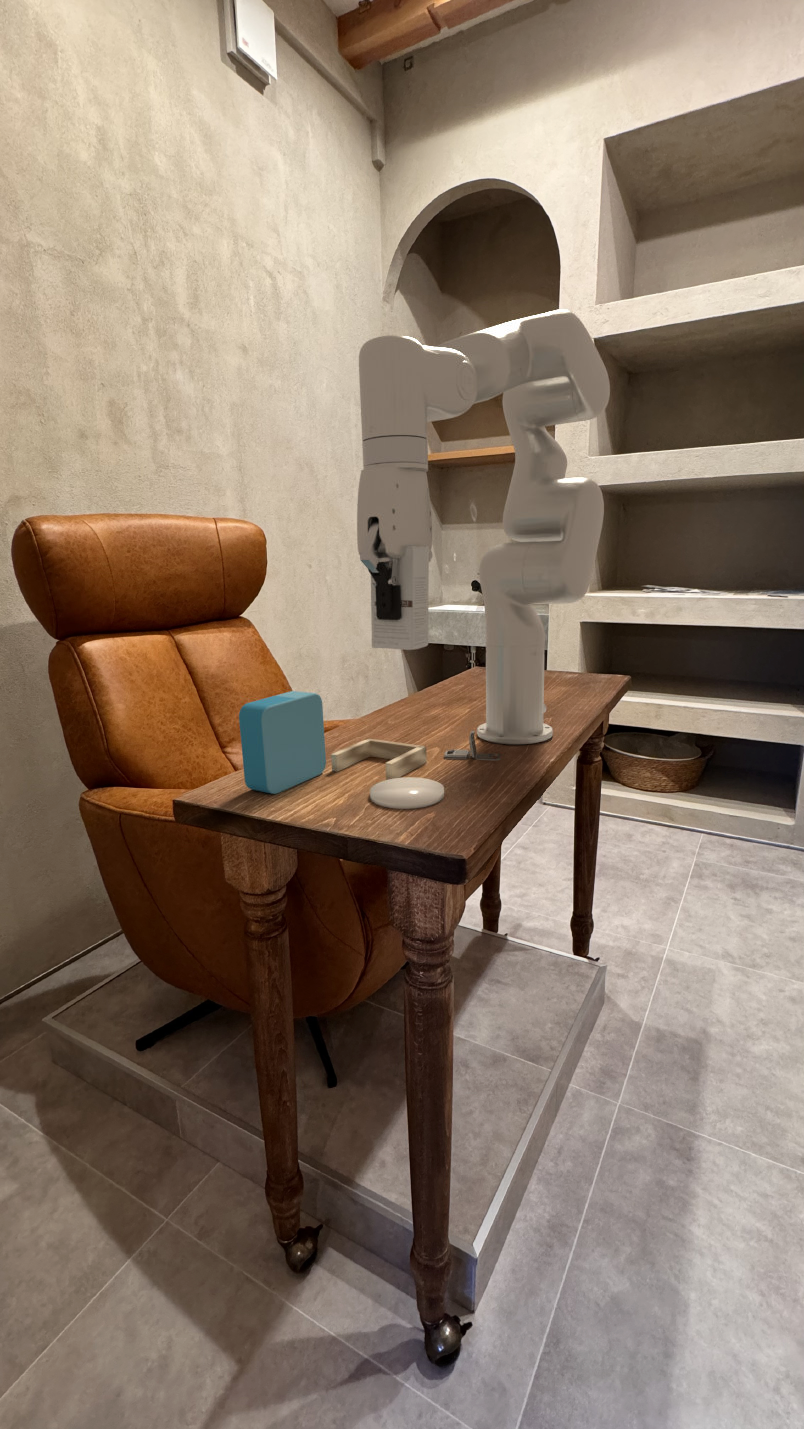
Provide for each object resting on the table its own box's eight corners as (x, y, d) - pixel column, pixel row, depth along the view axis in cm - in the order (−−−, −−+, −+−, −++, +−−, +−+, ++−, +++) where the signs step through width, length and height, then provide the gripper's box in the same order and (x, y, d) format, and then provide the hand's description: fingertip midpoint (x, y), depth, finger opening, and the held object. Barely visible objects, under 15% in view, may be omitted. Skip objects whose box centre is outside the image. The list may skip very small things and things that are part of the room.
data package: (303, 767, 100) (298, 688, 97) (327, 772, 98) (322, 691, 95) (244, 792, 90) (236, 705, 87) (269, 797, 88) (261, 708, 85)
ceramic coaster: (395, 779, 93) (395, 773, 93) (457, 789, 88) (457, 783, 88) (355, 801, 85) (355, 795, 85) (420, 814, 80) (419, 807, 80)
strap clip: (443, 760, 102) (442, 734, 101) (446, 755, 105) (445, 728, 104) (499, 762, 100) (499, 735, 99) (501, 756, 103) (500, 729, 102)
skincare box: (370, 648, 82) (366, 547, 79) (389, 644, 86) (385, 546, 83) (414, 650, 79) (411, 545, 76) (432, 645, 83) (429, 545, 80)
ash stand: (369, 753, 106) (368, 738, 105) (426, 762, 100) (426, 746, 100) (332, 770, 98) (330, 754, 97) (392, 781, 92) (391, 763, 92)
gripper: (406, 468, 86) (410, 611, 91) (324, 454, 73) (333, 623, 77) (458, 462, 82) (460, 612, 87) (381, 446, 69) (388, 625, 73)
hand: (400, 615), depth 82 cm, fingers closed on skincare box, 4 cm apart
